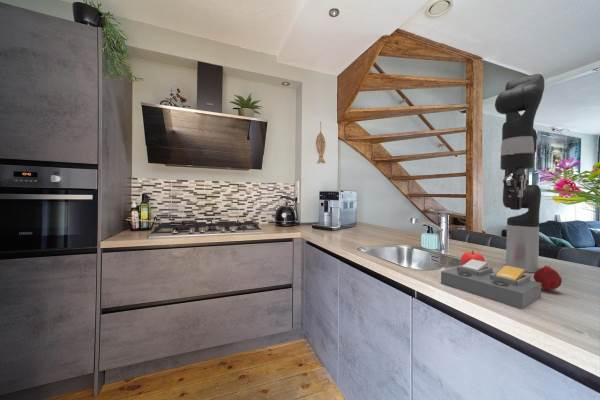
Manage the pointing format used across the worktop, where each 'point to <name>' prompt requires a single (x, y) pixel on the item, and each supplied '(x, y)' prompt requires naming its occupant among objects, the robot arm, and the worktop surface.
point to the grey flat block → (493, 285)
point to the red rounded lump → (548, 278)
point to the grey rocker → (475, 265)
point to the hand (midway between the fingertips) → (515, 209)
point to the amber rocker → (511, 272)
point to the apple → (471, 257)
